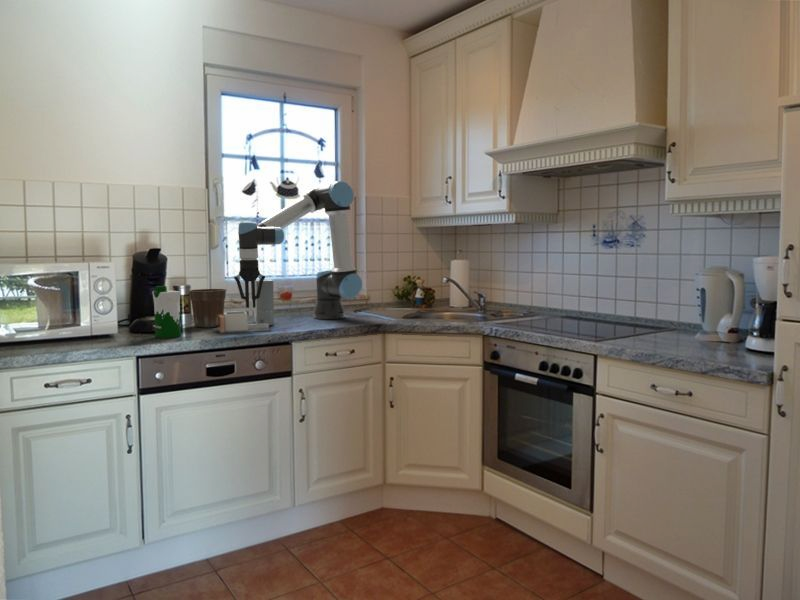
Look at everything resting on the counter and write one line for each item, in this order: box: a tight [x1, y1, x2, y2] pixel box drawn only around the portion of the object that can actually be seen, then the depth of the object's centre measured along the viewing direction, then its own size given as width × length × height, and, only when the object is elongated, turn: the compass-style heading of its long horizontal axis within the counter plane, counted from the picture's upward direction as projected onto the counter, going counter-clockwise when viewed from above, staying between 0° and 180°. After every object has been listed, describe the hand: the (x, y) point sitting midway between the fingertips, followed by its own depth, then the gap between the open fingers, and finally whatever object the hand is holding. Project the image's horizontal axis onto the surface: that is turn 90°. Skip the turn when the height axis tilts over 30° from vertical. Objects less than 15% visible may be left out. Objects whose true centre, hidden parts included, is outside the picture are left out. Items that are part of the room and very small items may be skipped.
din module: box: [224, 310, 249, 331], centre depth 255 cm, size 9×6×8 cm, turn 111°
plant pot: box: [187, 288, 228, 328], centre depth 270 cm, size 16×16×16 cm
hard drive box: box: [253, 278, 275, 326], centre depth 277 cm, size 16×8×20 cm, turn 18°
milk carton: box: [152, 285, 182, 340], centre depth 238 cm, size 9×9×20 cm
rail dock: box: [217, 314, 272, 335], centre depth 256 cm, size 20×12×6 cm, turn 111°
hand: (251, 315), depth 257 cm, fingers closed
